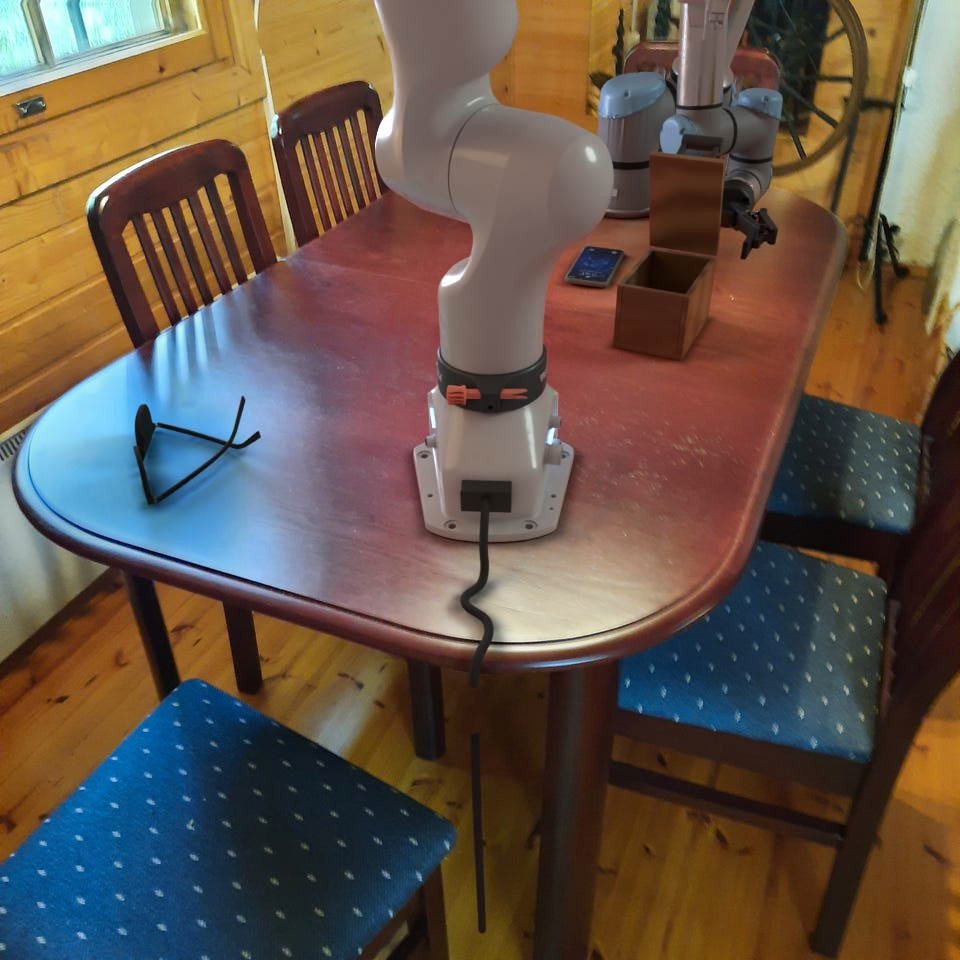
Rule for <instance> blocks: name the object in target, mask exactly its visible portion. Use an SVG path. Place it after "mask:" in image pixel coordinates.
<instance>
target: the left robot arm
mask: <svg viewBox="0 0 960 960" xmlns="http://www.w3.org/2000/svg"><path fill="white" fill-rule="evenodd" d="M709 1H710V0H676V2H677V3H679V4H680V3H686V4H688V9H687V13H688V22H689V33H688V41H689V42H690V43H701V42H702V41H704V40H705V38H706V31H707V25H706V14H707V10H708V6H709ZM730 1H731V0H713V6H712V12H711V14H710V18H709V29H711V30H720V29H722V28H723V27H724V26H725V22H726V15H727V11H728V8H729V4H730ZM373 2H374V6H375V10H376V13H377V16H378V19H379V22H380V25H381V29H382V33H383V35H384V39H385V43H386V46H387V50H388V54H389V58H390V63H391V68H392V77H393V101H392V105H391V107H390V108H389V109H388V110H387V112H386V113H385V115H384V116H383V118H382V119H381V121H380V124H379V127H378V131H377V133H376V137H375V138H376V139H375V147H374V150H375V151H374V154H375V163H376V167H377V171H378V174H379V176H380V178H381V179H382V182H383V183H384V184H385V185H386V187H388V189H390V190H391V191H392V192H393V193H396V194H397V195H399V196H400V197H402V198H403V199H404V200H406V201H408V202H409V203H411V204H412V205H414V206H416V207H418V208H419V209H421V210H424V211H426V212H429V213H432V214H436V215H439V216H443V217H446V218H449V219H452V220H456V221H459V222H463V223H465V224H468V225H469V226H470V229H471V233H472V246H471V251H470V255H469V256H467V257H465V258H463V259H461V260H459V261H458V262H455V264H454V265H452V266H451V267H450V268H449V269H448V270H447V271H446V273H445V274H444V275H443V277H442V278H441V280H440V282H439V285H438V288H437V307H438V324H439V326H438V327H439V342H440V343H439V344H440V345H439V346H438V348H437V354H436V356H437V358H436V363H435V364H436V376H437V384H436V385H435V387H434V386H433V388H432V389H431V390H430V391H428V392H427V406H428V407H427V409H428V424H429V435H426V436H425V438H424V442H422V443H419V444H417V445H416V446H415V447H414V448H413V454H412V455H413V457H412V458H413V464H414V470H415V475H416V476H415V477H416V480H417V487H418V492H419V498H420V499H419V500H420V503H421V504H420V505H421V510H422V516H423V522H424V526H425V529H426V530H427V531H428V532H429V533H432V534H434V535H437V536H440V537H443V538H448V539H452V540H457V541H466V542H477V543H478V552H479V553H478V554H479V575H478V577H477V578H478V579H477V580H476V581H475V583H474V584H472V585H471V586H470V587H468V588H467V589H466V590H464V591H463V592H462V593H461V595H460V600H459V601H460V606H461V608H462V609H463V611H465V612H466V613H467V614H468V615H470V616H471V617H474V618H476V619H477V620H479V621H480V622H481V623H482V625H483V635H482V638H481V640H480V642H479V644H478V645H477V647H476V649H475V651H474V653H473V657H472V659H471V662H470V668H469V676H468V685H469V687H470V688H472V689H475V688H477V687H478V686H479V683H480V673H481V667H482V664H483V660H484V657H485V655H486V653H487V651H488V650H489V647H490V645H491V644H492V642H493V638H494V630H495V628H494V623H493V621H492V618H491V617H490V616H489V615H488V614H487V613H486V612H485V611H484V610H482V609H480V608H479V607H476V606H475V605H473V604H472V603H471V601H470V599H471V598H472V597H473V596H475V595H476V594H478V593H480V592H481V591H482V590H483V589H484V588H485V586H486V585H487V582H488V579H489V574H490V557H489V543H500V542H501V543H502V542H503V543H506V542H518V541H527V540H531V539H536V538H539V537H543V536H546V535H548V534H550V533H552V532H554V531H556V530H557V527H558V525H559V520H560V518H561V517H560V516H561V512H562V508H563V504H564V500H565V497H566V492H567V488H568V483H569V480H570V476H571V472H572V469H573V468H572V467H573V464H574V459H575V450H574V447H573V446H571V445H570V444H568V443H566V442H563V441H561V439H560V438H558V430H560V429H561V428H562V416H559V392H557V391H556V390H555V389H554V388H553V387H552V386H551V385H550V384H549V383H548V382H547V379H548V367H549V361H548V356H547V355H548V354H547V353H548V351H547V347H546V345H545V344H544V330H545V329H544V327H545V314H546V313H545V312H546V301H547V291H548V287H549V282H550V279H551V275H552V273H553V271H554V268H555V266H556V264H557V263H558V261H559V259H560V258H561V257H562V256H563V254H564V253H565V252H566V251H567V250H569V248H571V247H572V246H573V245H575V244H577V243H579V242H581V241H582V240H584V238H586V237H587V236H589V235H590V234H591V233H592V232H593V231H594V230H595V229H596V228H597V227H598V225H599V224H600V223H601V221H602V220H603V219H604V217H605V216H604V215H605V213H606V211H607V209H608V206H609V204H610V201H611V198H612V193H613V187H614V170H613V164H612V159H611V156H610V153H609V150H608V148H607V146H606V144H605V143H604V141H603V140H602V139H601V138H600V137H598V136H597V134H595V133H593V132H591V131H590V130H588V129H585V128H584V127H582V126H580V125H578V124H576V123H573V122H572V121H569V120H567V119H565V118H563V117H561V116H559V115H554V114H550V113H545V112H539V111H534V110H529V109H523V108H519V107H514V106H509V105H504V104H502V103H500V101H499V100H498V99H497V98H496V96H495V94H494V93H493V89H492V86H491V74H490V73H491V71H492V70H493V69H495V68H496V67H497V66H498V65H499V64H500V63H501V62H502V61H503V60H504V59H505V57H507V55H508V53H509V51H510V49H511V47H512V45H513V43H514V41H515V38H516V36H517V33H518V29H519V19H520V18H519V11H518V6H517V1H516V0H373ZM469 741H470V742H469V745H470V746H469V747H470V777H471V778H470V779H471V780H470V781H471V784H470V785H471V804H472V806H471V807H472V808H471V809H472V810H471V811H472V830H473V850H474V851H473V852H474V868H475V870H474V871H475V888H476V889H475V891H476V910H477V929H478V933H479V934H485V933H486V931H487V918H486V917H487V916H486V889H485V865H484V864H485V862H484V861H485V860H484V841H483V840H484V839H483V838H484V837H483V816H482V815H483V812H482V811H483V809H482V808H483V807H482V775H481V771H482V770H481V769H482V768H481V731H478V732H475V733H471V734H469Z"/></svg>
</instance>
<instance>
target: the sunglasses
mask: <svg viewBox="0 0 960 960" xmlns="http://www.w3.org/2000/svg"><path fill="white" fill-rule="evenodd" d="M245 404H246V398H245V396H244V395H241V396H240V401H239V405H238V408H237V409H238V410H237V413H236V417H235V421H234V425H233V429H232V432H231V435H230V437H229V439H228V440H227V441H226V440H223V439H220V438H217V437H214V436H211V435H208V434H204V433H201V432H198V431H195V430H192V429H188V428H184V427H180V426H176V425H172V424H169V423H164V422H159V421H157V422H153V418H152V414H151V411H150V408H149V406H148V404H146V403H142V404H140V405H139V406H138V409H137V411H136V413H135V418H134V436H135V444H136V445H133V447H132V448H133V452H134V455H135V460H136V463H137V467H138V471H139V475H140V479H141V485H142V489H143V493H144V497H145V500H146V503H147V505H148V506H151V505H154V504H155V501H156V503H157V504H160V503H162V501H164V500H165V499H167V498H168V497H170V496H171V495H172V494H174V493H175V492H177V491H178V490H179V489H181V488H182V487H184V486H185V485H187V484H188V483H189V482H191V481H192V480H193V479H194V478H196V477H197V476H198V475H200V474H202V473H203V472H204V471H205V470H206V469H208V467H210V466H211V465H212V464H213V463H215V462H216V461H217V460H218V459H220V457H222V455H223V454H224V453H225V452H226V451H228V449H229V448H231V449H233V450H242V449H246V448H247V447H249V446H250V445H252V444H254V443H255V442H256V441H258V440H260V439H261V438H262V435H261V432H260V430H256V431H255V432H254V433H253V434H252V435H250V436H249V437H248V438H247V439H246V440H245V441H244V442H241V443H233V442H234V441H235V438H236V435H237V434H238V429H239V426H240V423H241V419H242V415H243V412H244V409H245ZM157 428H160V429H164V430H168V431H172V432H175V433H179V434H183V435H188V436H191V437H195V438H199V439H202V440H205V441H209V442H211V443H215V444H218V445H221V446H223V447H221V449H220V450H219V451H217V452H216V453H215V454H214V455H213V456H212V457H211V458H209V459H208V460H207V461H206V462H204V463H203V464H202V465H200V466H199V467H198V468H196V469H195V470H193V471H192V472H191V473H189V474H188V475H187V476H186V477H184V478H183V479H180V481H178V482H177V483H176V484H174V485H172V486H171V487H169V488H168V489H166V490H165V491H163V492H162V493H161V494H160V495H158V496H157V497H154V495H152V491H151V487H150V484H149V479H148V474H147V470H146V467H145V463H144V461H145V459H146V456H147V453H148V450H149V448H150V445H151V442H152V438H153V435H154V432H155V430H157Z"/></svg>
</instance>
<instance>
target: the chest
mask: <svg viewBox="0 0 960 960" xmlns="http://www.w3.org/2000/svg"><path fill="white" fill-rule="evenodd" d="M717 260H718V258H717V257H715V256H709V255H702V254H696V253H689V252H683V251H676V250H670V249H664V248H657V247H649V248H648V249H647V251H646V252H645V253H644V254H643V255H642V256H641V258H639V260H638V261H637V262H636V263H635V265H633V266H632V267H631V269H630V270H629V271H628V272H627V273H626V275H624V277H623V278H622V279H621V280H620V281H619V282H618V284H617V285H616V298H615V299H616V300H615V313H614V314H615V315H614V324H613V335H612V336H613V337H612V348H616V349H621V350H626V351H631V352H636V353H639V354H640V353H641V354H645V355H651V356H655V357H659V358H660V357H661V358H665V359H669V360H670V359H671V360H675V361H680V362H681V361H682V360H683V359H684V356H686V354H687V352H688V351H689V349H690V347H691V346H692V345H693V343H694V341H695V339H696V338H697V336H698V335H699V333H700V332H701V330H702V329H703V327H704V326H705V324H706V323H707V320H708V318H709V313H710V308H711V300H712V294H713V287H714V281H715V275H716V267H717Z"/></svg>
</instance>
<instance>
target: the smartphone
mask: <svg viewBox="0 0 960 960" xmlns="http://www.w3.org/2000/svg"><path fill="white" fill-rule="evenodd" d="M624 256H625V252H624V250H622V249H619V248H618V249H616V248H609V247H600V246H592V245H586V246H584V247H583V249H581V251H580V253H579V255H578V256H577V257H576V259H575V261H574V262H573V264H572V265H571V267H569V270H568V271H567V273H566V275H565V276H564V282H566V283H567V284H573V285H581V286H588V287H594V288H595V287H596V288H607V287H608V286H609V284H610V283H611V282H612V279H613V277H614V276H615V274H616V272H617V270H618V268H619V266H620V264H621V262H622V260H623V258H624Z"/></svg>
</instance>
